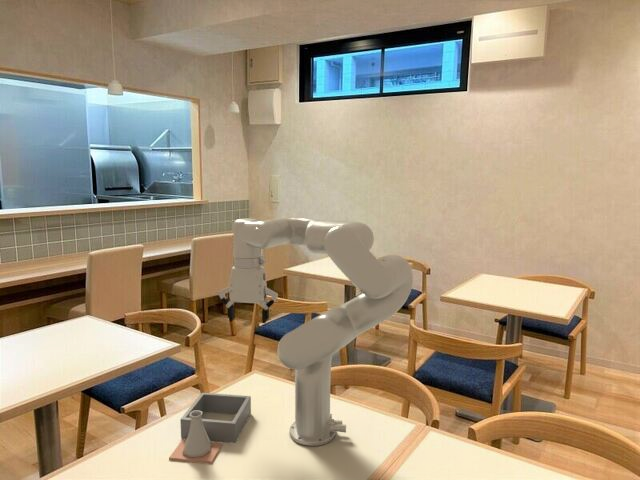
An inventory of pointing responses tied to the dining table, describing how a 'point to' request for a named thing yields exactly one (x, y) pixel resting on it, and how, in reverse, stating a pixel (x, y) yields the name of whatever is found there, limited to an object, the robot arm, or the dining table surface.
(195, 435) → the flask
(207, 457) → the mat
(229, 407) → the box frame
